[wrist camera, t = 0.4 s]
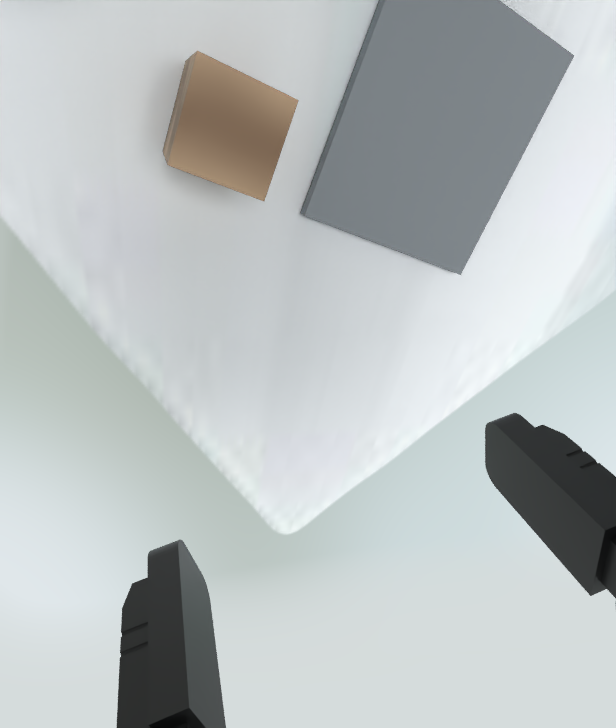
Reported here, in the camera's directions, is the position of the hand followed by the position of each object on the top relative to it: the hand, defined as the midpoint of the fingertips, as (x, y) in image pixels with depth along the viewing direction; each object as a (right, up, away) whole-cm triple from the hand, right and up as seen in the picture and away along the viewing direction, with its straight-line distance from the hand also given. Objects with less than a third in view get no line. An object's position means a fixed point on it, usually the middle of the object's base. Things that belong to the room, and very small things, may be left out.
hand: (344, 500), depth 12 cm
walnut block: (-7, +18, +17) cm, 25 cm away
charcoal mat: (+8, +19, +21) cm, 29 cm away
